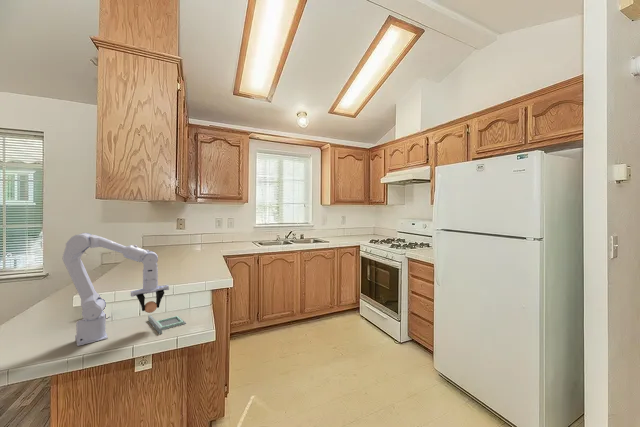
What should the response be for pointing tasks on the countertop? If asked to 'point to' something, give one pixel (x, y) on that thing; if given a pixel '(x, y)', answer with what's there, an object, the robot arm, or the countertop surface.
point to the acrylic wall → (155, 324)
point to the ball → (150, 307)
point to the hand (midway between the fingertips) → (150, 308)
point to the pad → (170, 322)
